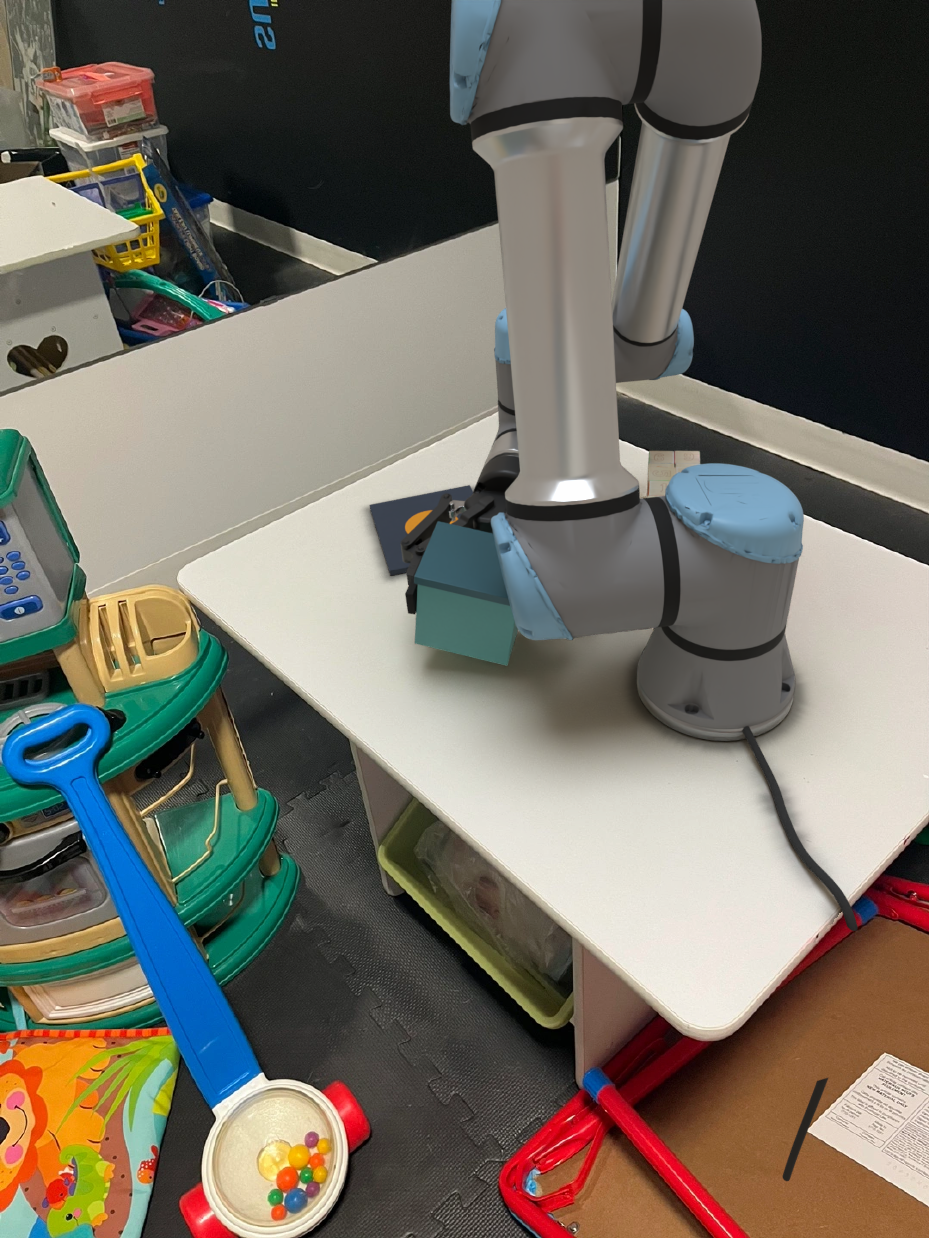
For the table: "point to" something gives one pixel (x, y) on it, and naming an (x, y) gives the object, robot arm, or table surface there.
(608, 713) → the table surface
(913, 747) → the table surface
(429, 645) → the teal box
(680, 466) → the stack of blocks
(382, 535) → the mat
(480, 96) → the robot arm
